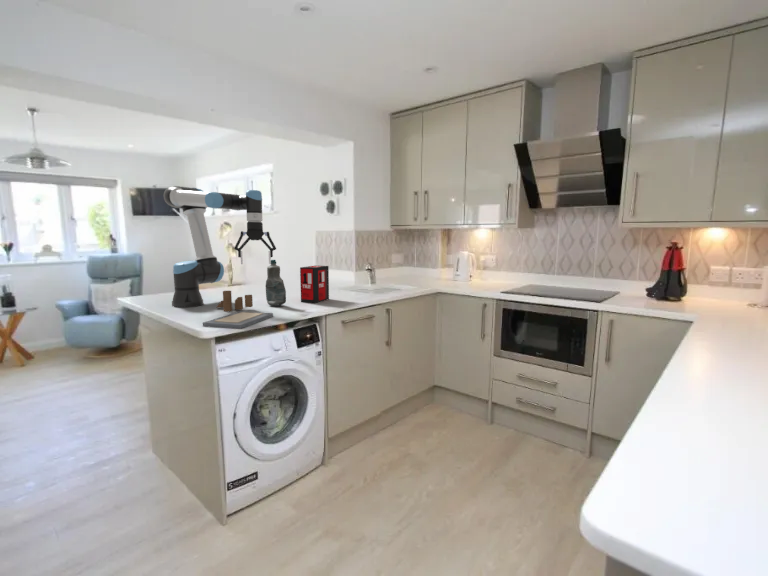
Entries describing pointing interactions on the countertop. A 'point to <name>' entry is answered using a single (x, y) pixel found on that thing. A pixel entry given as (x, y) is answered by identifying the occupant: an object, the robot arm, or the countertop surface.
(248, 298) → the wooden block set
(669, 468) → the countertop surface
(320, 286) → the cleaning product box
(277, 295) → the detergent
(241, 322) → the baseplate
